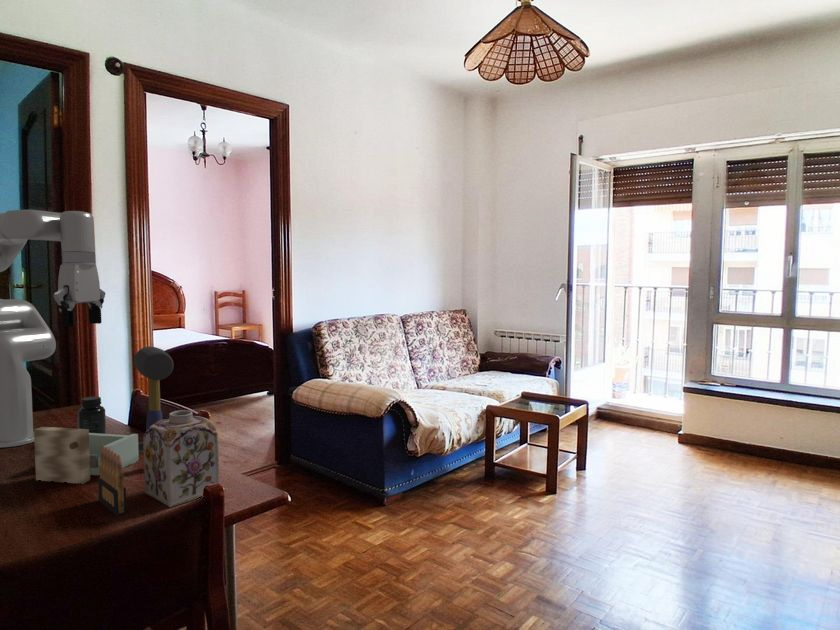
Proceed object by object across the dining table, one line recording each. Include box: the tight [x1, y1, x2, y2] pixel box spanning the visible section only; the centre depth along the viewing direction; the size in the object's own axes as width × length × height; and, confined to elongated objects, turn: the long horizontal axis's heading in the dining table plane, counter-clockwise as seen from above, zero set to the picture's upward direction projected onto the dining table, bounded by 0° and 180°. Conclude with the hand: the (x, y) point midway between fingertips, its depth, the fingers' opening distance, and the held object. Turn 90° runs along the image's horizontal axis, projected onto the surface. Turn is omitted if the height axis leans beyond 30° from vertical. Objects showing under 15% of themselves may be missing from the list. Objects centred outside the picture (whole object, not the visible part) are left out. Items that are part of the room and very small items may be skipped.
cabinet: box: [89, 433, 140, 476], centre depth 138 cm, size 17×11×7 cm, turn 81°
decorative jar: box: [142, 409, 220, 508], centre depth 121 cm, size 12×12×18 cm
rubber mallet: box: [133, 346, 174, 432], centre depth 136 cm, size 12×8×30 cm, turn 37°
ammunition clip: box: [97, 445, 128, 516], centre depth 114 cm, size 11×2×12 cm, turn 47°
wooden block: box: [33, 426, 91, 485], centre depth 128 cm, size 12×3×12 cm, turn 81°
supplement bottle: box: [77, 396, 107, 434], centre depth 159 cm, size 7×7×12 cm
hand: (82, 325), depth 146 cm, fingers open, 9 cm apart
